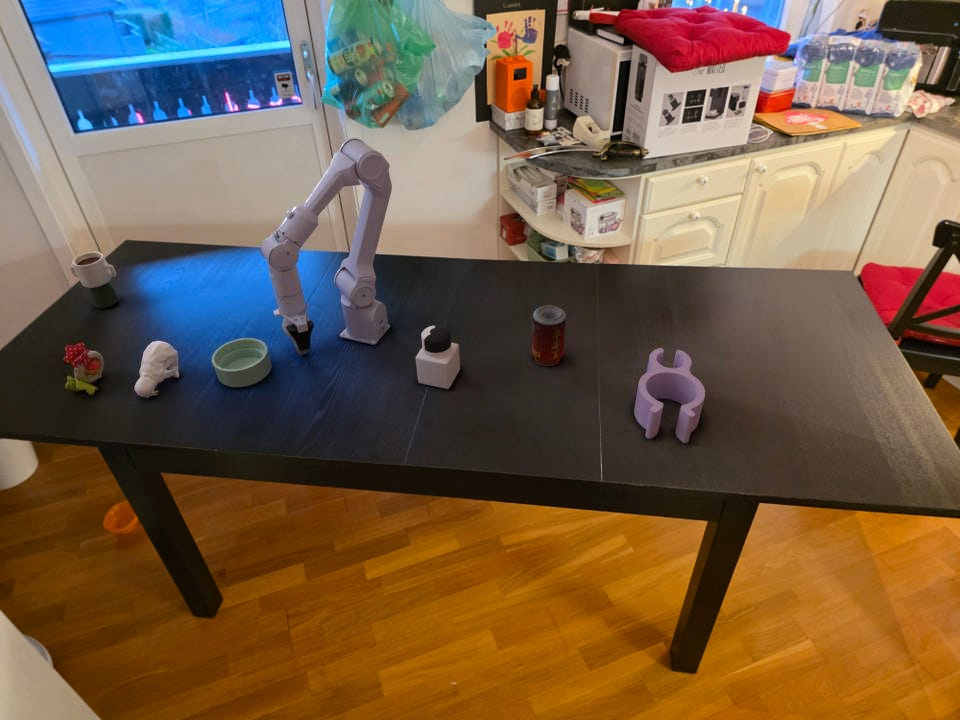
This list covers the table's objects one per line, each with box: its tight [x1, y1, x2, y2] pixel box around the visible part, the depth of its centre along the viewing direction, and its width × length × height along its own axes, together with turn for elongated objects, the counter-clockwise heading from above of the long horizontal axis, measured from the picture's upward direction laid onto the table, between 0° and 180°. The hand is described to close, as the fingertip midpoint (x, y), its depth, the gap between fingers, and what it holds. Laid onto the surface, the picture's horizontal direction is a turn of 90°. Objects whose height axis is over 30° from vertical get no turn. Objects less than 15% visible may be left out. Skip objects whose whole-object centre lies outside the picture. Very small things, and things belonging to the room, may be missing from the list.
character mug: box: [69, 251, 121, 309], centre depth 164 cm, size 11×7×13 cm, turn 88°
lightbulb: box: [281, 315, 311, 355], centre depth 146 cm, size 6×6×11 cm
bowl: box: [211, 337, 273, 388], centre depth 143 cm, size 12×12×5 cm
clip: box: [633, 347, 706, 444], centre depth 131 cm, size 20×12×7 cm, turn 169°
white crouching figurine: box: [134, 340, 180, 399], centre depth 140 cm, size 6×8×12 cm
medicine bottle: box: [415, 324, 461, 390], centre depth 138 cm, size 7×7×12 cm
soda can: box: [531, 304, 567, 367], centre depth 142 cm, size 7×7×12 cm
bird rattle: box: [62, 342, 105, 395], centre depth 140 cm, size 6×11×9 cm
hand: (300, 341), depth 148 cm, fingers closed on lightbulb, 6 cm apart
